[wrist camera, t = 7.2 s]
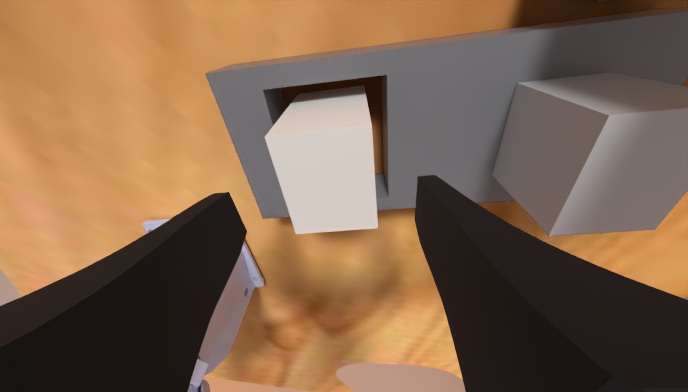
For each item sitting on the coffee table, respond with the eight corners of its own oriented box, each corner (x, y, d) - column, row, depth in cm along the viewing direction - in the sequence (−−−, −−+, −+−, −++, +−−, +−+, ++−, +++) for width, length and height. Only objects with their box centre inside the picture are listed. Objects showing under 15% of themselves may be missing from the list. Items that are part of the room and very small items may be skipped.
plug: (369, 160, 17) (377, 228, 12) (314, 166, 18) (295, 234, 12) (364, 85, 14) (371, 125, 9) (298, 93, 15) (264, 137, 9)
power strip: (577, 169, 17) (715, 258, 11) (274, 193, 19) (234, 281, 13) (655, 9, 12) (1016, -9, 6) (230, 64, 14) (124, 100, 7)
